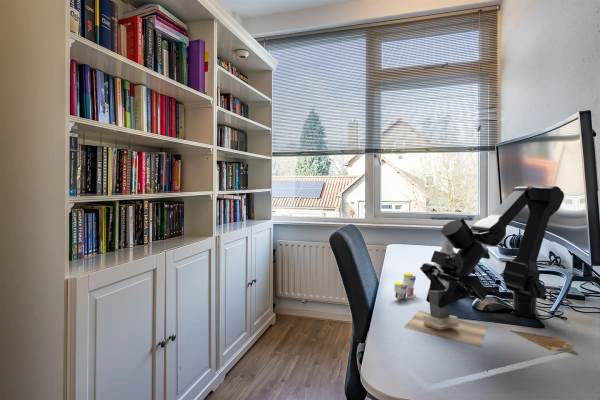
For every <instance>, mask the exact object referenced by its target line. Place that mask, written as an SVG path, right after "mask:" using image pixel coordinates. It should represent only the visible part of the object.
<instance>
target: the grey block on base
mask: <svg viewBox="0 0 600 400" xmlns="http://www.w3.org/2000/svg"><path fill="white" fill-rule="evenodd" d="M445 292H446V291H444V290H438V289H436V290H429V289H428V290H427V295H428V294H429V302H428V303H429V310H430V312H429V313H431V314H429V315H423V319H424V325H427V326H430V327H433V328H436V329H439V330H442V329H448V328H453V327H459V324H458V319H459V317H458V316H455V315H451V314H450V310H449V305H446V306H444V307H442V308H439V306H438V303H439V302H440V300H441V298H442V297H443V295H444V294H445Z"/></svg>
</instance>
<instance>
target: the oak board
mask: <svg viewBox="0 0 600 400" xmlns="http://www.w3.org/2000/svg"><path fill="white" fill-rule="evenodd" d="M429 314H431V312H427V311H426V312H425V311H424V310H423V311H422V310H419V311H417V313H416V314H415V315H414V316H413V317H412V318H411V319H410V320H409V321H408V322H407V323H406V324H405V325H404V326H403V328H404V329H409V330H413V331H417V332H420V333H424V334H428V335H431V336H436V337H440V338H443V339H447V340H452V341H454V342H459V343H461V344H462V343H463V344H466V345H469V346H473V347H478V348H481V347H482V344H483V342H484V338H485V336H486V333H487V330H488V327H489V325H485V324H481V323H477V322H471V321H468V320H462V319H459V318H458V324H459V327H453V328H448V329H442V330H439V329H436V328H433V327H430V326H427V325H424V319H423V315H429Z"/></svg>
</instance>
